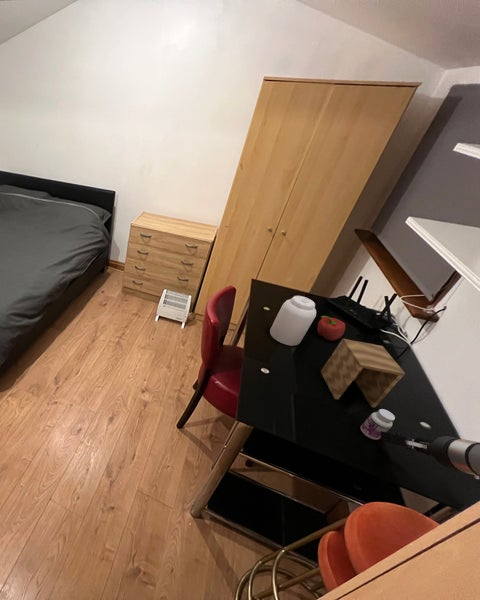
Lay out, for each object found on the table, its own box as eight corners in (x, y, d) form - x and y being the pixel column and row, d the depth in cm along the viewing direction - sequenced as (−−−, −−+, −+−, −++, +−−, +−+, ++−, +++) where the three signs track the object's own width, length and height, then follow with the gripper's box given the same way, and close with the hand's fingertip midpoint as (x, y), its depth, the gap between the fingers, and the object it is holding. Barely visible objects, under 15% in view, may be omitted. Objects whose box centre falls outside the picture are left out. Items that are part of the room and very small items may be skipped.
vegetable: (313, 339, 145) (323, 321, 139) (309, 326, 153) (319, 309, 147) (341, 346, 142) (353, 329, 136) (336, 333, 150) (347, 316, 144)
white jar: (278, 325, 152) (296, 289, 141) (305, 340, 143) (327, 303, 132) (263, 333, 146) (281, 296, 135) (291, 350, 137) (312, 312, 126)
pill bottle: (356, 423, 107) (373, 405, 102) (374, 427, 106) (392, 409, 101) (364, 437, 103) (382, 419, 98) (383, 442, 102) (401, 423, 97)
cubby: (374, 407, 114) (405, 373, 104) (334, 398, 116) (360, 364, 106) (356, 379, 125) (382, 346, 116) (320, 371, 127) (342, 338, 118)
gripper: (431, 464, 77) (359, 443, 100) (496, 480, 75) (407, 454, 98) (432, 432, 78) (361, 418, 101) (495, 446, 76) (408, 429, 99)
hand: (383, 436), depth 99 cm, fingers closed
